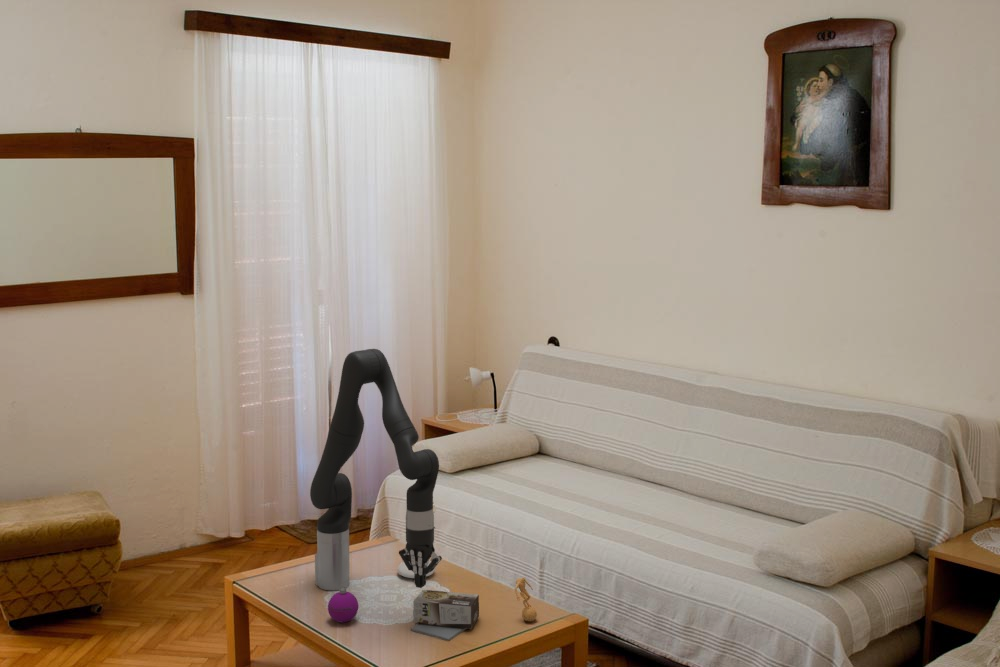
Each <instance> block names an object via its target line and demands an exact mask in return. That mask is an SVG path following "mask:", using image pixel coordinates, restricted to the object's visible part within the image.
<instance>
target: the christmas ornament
mask: <svg viewBox="0 0 1000 667" xmlns="http://www.w3.org/2000/svg"><path fill="white" fill-rule="evenodd" d="M341 587H342V586H341ZM343 587H344V586H343ZM358 611H359V601H358V599H357V597H356V596H355V595H354V594H353V593H352V592H350V591H347V587H346V588H345V587H344V588H341V589H340V590H338V591H337V592H335V593H334V594H333V595H331V597H330V599H329V600H328V604H327V612H328V614H329V616H330V618H331V619H332V620H334V621H335V622H338V623H348V622H350V621H352V620H353V619H354V618H355V616H357V613H358Z"/></svg>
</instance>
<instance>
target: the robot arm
mask: <svg viewBox="0 0 1000 667" xmlns="http://www.w3.org/2000/svg"><path fill="white" fill-rule="evenodd" d="M339 382H340V383H339V390H338V396H337V398H336V404H335V407H334V411H333V415H332V418H331V422H330V425H329V429H328V433H327V436H326V437H327V438H326V442H325V445H324V449H323V451H322V455H321V458H320V460H319V464H318V466H317V467H316V468H317V469H316V472H315V473H314V476H313V479H312V482H311V485H310V490H309V494H310V495H309V497H310V501H311V504H312V505H313V506H314V508H316V509H317V510H326V509H327V510H326V512H324V513H323V514H322V515H321V516H319V518H318V519H317V521H316V540H317V541H316V543H317V544H316V546H317V547H316V548H317V549H316V550H317V552H316V553H315V554H314V582H315V584H314V585H315V586H318V588H320V590H321V589H322V590H325V591H340V589H341V588H344V587H345V588H346V589H347V587H349V586H350V584H351V582H350V579H351V578H350V570H351V569H350V522H351V518H352V503H353V502H352V500H353V491H352V490H353V489H352V483H351V481H350V478H348V477H349V476H348V475H346V474H345V473H341V472H340V470H341V469H342V467H343V466H344V465H345V464H346V463H347V462H348V461H349V460H350V459H351V456H353V454H355V452H356V450H357V449H358V447H359V445H360V443H361V439H362V435H363V433H364V432H363V431H364V428H365V420H364V416H363V413H362V411H361V408H360V405H359V398H360V394H361V389H362V388H363V386H364V385H367V384H371V383H372V384H373V383H374V384H375V385H376V387H377V388H378V390H379V392H380V396H381V401H382V408H381V417H382V418H381V420H382V423H383V426H384V428H385V431H386V432H387V434H388V437H389V438H390V440H391V442H392V444H393V446H394V451H395V455H396V460H397V465H398V468H399V471H400V473H401V475H403V477H405V478H406V479H408V480H410V481H414V480H416V481H415V483H413V484H412V485H411V486H409V487H408V488H407V490H406V512H405V541H406V544H405V547H404V548H403V549H400V550H399V551H398V556H400V558H401V560H402V562H403V561H404V563H405V565H406V566H407V568H408V570H411V571H413V573H414V578H413V580H414V581H413V582H414V585H415V587H416V588H419V589H422V588H424V587H425V586H426V584H427V577H426V574H428V573H429V572H432V571H433V569H434V568H435V569H436V567H437V566H438V565H439V563H440V562H441V561H442V560H443V558H442V556H441V555H437V553H436V552H435V550H436V548H435V546H434V542H435V529H434V527H435V513H434V512H433V505H434V504H433V502H434V490H435V487H436V484H437V479H438V475H439V470H440V463H439V462H440V461H439V458H438V454H436V453H435V451H434V450H432V449H429V448H427V449H425V448H424V449H420V450H416V451H414V450H413V446H414V445H415V444H416V443H418V441H419V434H418V431H417V429H416V427H415V426H414V423H413V422H412V419H411V418H410V416H409V414H408V412H407V411H406V408H405V407H404V404H403V402H402V398H401V396H400V393H399V391H398V387H397V384H396V382H395V379H394V374H393V372H392V369H391V367H390V364H389V362H388V359H387V357H386V356H385V354H384V352H382V351H381V350H380V349H378V348H368V349H362V350H355V351H352V352H349V353H348V354H347V355H346V357H345V358H344V361H343V363H342V369H341V377H340V381H339ZM429 561H430V562H431V563H430V564H429ZM409 562H410V563H409ZM428 564H429V565H428ZM341 586H342V587H341ZM343 586H344V587H343Z"/></svg>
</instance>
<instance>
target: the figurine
mask: <svg viewBox="0 0 1000 667" xmlns="http://www.w3.org/2000/svg"><path fill="white" fill-rule="evenodd" d="M515 584H516V585H515V587H514V591H515V595H516V599H517V601H520V598H521V597H522V598H523V601H522V602H523V606H524V608H523V610H522V611H521V616H522V618H523V620H525V621H526V622H528V623H529V622H534V620H536V618H537V613H538V612H537V610H536V608H534V607H533V606H532V605H531V604H529V602H528V601H529V600H530V599H531V595H530V593H529V592H528V591H527V589H526V585H527V586H528V587H530V589H531V590H532V591H533V589H534V588H533V587H532V585H531V584H530V583H528V581H527V580H526V578H525V577H524V576H523V577H522V578H517V579H516V581H515ZM518 590H519V592H520V596H521V597H520V596H519V593H518Z"/></svg>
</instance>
